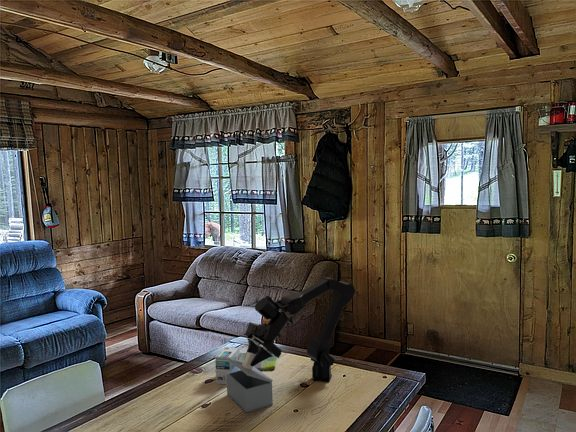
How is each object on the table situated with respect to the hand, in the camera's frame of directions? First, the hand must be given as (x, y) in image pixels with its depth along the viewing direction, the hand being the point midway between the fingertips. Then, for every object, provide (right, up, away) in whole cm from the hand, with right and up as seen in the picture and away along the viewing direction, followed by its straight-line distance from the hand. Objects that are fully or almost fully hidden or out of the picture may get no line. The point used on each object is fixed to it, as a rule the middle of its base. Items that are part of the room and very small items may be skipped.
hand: (247, 363), depth 160 cm
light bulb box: (-9, -13, +19) cm, 25 cm away
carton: (0, -13, +1) cm, 13 cm away
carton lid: (0, -3, 0) cm, 3 cm away
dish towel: (-3, -12, +34) cm, 36 cm away
